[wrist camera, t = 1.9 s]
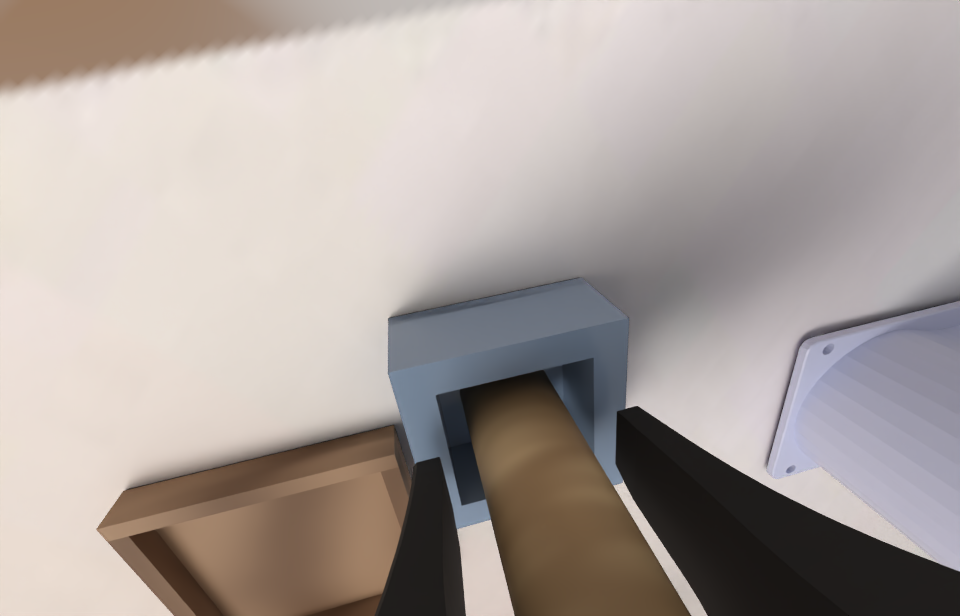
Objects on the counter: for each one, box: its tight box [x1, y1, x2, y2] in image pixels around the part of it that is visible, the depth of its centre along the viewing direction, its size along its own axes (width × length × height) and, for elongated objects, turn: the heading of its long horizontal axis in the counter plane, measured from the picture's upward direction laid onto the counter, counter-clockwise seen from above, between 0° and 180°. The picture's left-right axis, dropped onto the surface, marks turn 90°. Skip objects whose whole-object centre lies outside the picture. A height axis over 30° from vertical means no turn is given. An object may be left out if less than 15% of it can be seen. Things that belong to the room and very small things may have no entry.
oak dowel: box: [460, 370, 691, 616], centre depth 10 cm, size 3×3×9 cm
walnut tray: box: [96, 425, 412, 616], centre depth 15 cm, size 9×9×1 cm
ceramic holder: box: [388, 278, 629, 529], centre depth 13 cm, size 6×6×3 cm
